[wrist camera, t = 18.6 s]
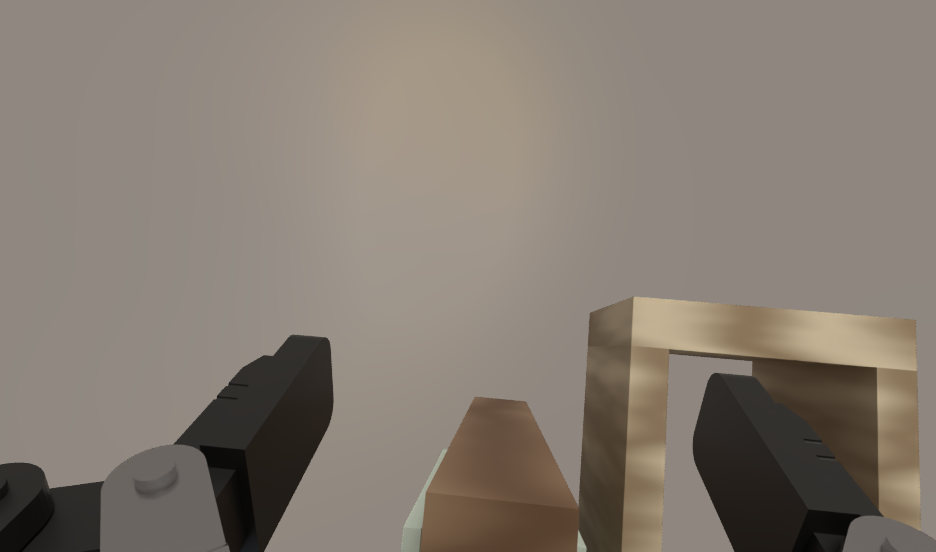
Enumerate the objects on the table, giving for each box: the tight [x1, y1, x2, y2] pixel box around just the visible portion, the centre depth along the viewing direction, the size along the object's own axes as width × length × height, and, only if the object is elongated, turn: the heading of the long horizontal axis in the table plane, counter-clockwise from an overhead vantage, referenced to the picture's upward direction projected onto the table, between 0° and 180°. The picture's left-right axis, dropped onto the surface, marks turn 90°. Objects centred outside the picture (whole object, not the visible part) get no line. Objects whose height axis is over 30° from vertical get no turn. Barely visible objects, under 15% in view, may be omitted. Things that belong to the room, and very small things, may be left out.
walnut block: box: [420, 397, 579, 552], centre depth 23 cm, size 4×24×4 cm, turn 177°
